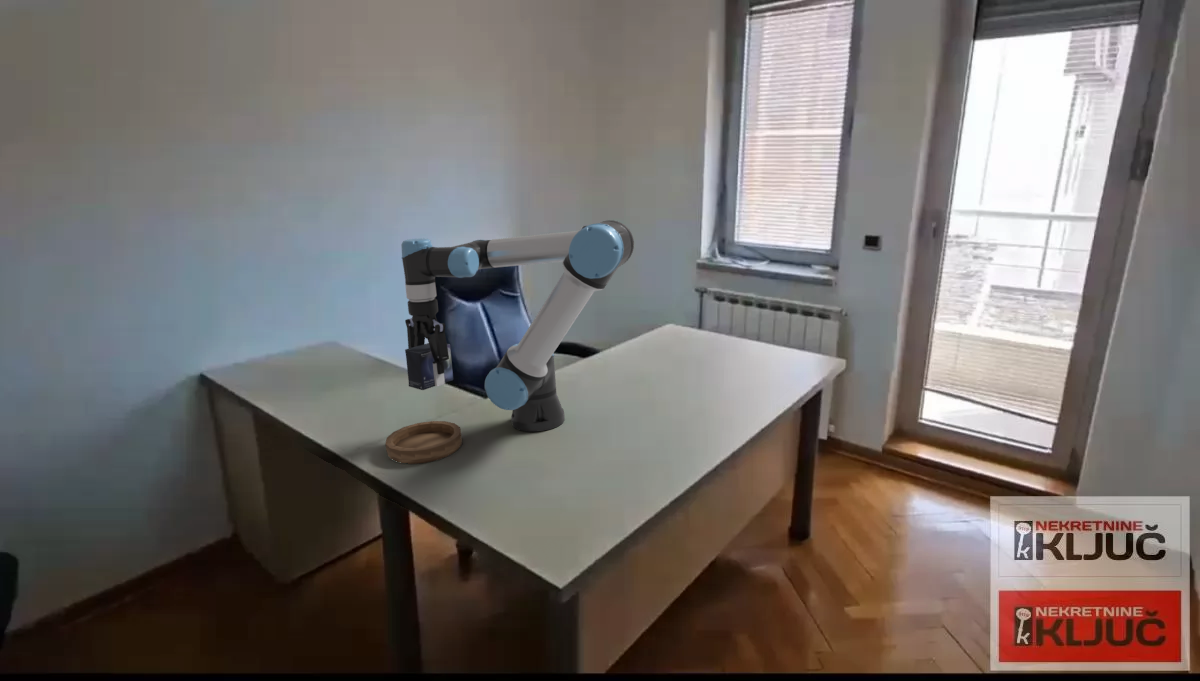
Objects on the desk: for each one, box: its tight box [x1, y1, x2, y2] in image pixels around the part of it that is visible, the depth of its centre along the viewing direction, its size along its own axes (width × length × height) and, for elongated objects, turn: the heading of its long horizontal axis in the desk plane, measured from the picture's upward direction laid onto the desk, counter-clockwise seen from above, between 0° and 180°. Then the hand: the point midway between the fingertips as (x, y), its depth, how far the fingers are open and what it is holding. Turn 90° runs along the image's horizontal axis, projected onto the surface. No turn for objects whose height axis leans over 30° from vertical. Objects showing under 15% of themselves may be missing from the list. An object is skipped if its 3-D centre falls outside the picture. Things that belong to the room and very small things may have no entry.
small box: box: [404, 342, 454, 391], centre depth 166 cm, size 11×6×10 cm, turn 144°
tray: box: [384, 420, 463, 465], centre depth 163 cm, size 19×19×4 cm
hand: (431, 382), depth 167 cm, fingers closed on small box, 6 cm apart
